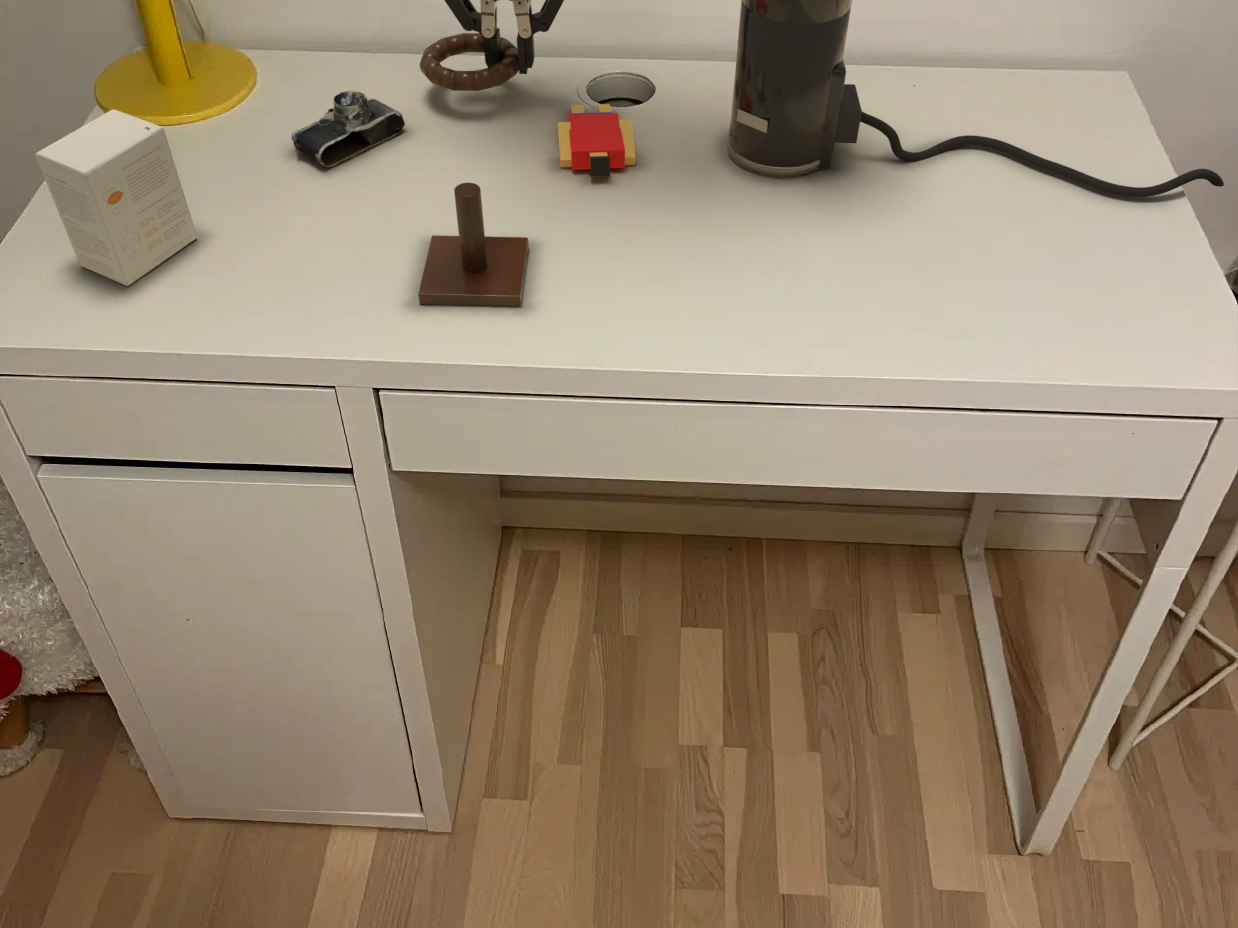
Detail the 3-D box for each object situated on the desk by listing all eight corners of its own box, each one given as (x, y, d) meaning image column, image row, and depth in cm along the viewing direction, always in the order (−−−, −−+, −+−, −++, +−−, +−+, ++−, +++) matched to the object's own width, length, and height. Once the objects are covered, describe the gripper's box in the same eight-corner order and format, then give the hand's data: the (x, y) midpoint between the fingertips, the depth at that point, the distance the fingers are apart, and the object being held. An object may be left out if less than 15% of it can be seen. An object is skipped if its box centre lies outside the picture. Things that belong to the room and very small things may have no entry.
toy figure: (555, 98, 110) (561, 157, 101) (626, 95, 110) (638, 154, 101) (555, 122, 111) (562, 183, 102) (626, 120, 112) (638, 180, 103)
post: (528, 247, 96) (523, 162, 90) (520, 306, 90) (515, 220, 85) (433, 245, 96) (422, 160, 90) (419, 304, 90) (406, 218, 85)
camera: (286, 152, 106) (277, 110, 103) (375, 112, 111) (369, 71, 108) (320, 172, 103) (312, 130, 100) (409, 130, 109) (403, 89, 106)
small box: (151, 219, 98) (114, 106, 91) (200, 239, 96) (165, 125, 89) (77, 267, 93) (31, 152, 86) (127, 289, 91) (83, 172, 84)
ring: (525, 48, 115) (524, 30, 114) (516, 95, 108) (514, 77, 107) (430, 47, 115) (428, 29, 114) (414, 93, 109) (412, 76, 107)
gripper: (409, -104, 97) (435, 88, 109) (572, -103, 96) (579, 90, 109) (423, -135, 102) (446, 52, 114) (578, -134, 102) (584, 53, 114)
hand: (511, 69), depth 112 cm, fingers closed on ring, 2 cm apart
